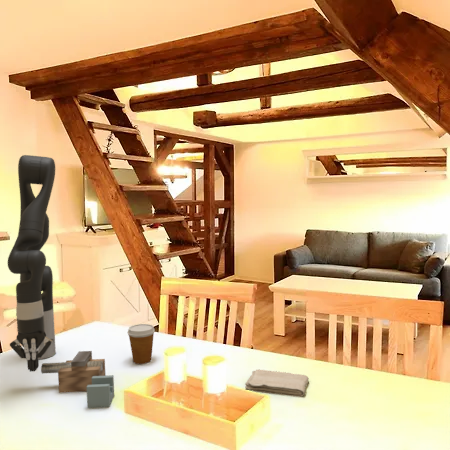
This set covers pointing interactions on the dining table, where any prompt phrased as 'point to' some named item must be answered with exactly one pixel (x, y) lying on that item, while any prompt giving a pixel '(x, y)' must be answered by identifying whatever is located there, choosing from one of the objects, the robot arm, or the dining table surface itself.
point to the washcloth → (277, 383)
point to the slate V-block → (100, 391)
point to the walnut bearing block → (79, 373)
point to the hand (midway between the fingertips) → (33, 370)
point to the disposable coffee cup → (141, 342)
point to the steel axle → (66, 366)
